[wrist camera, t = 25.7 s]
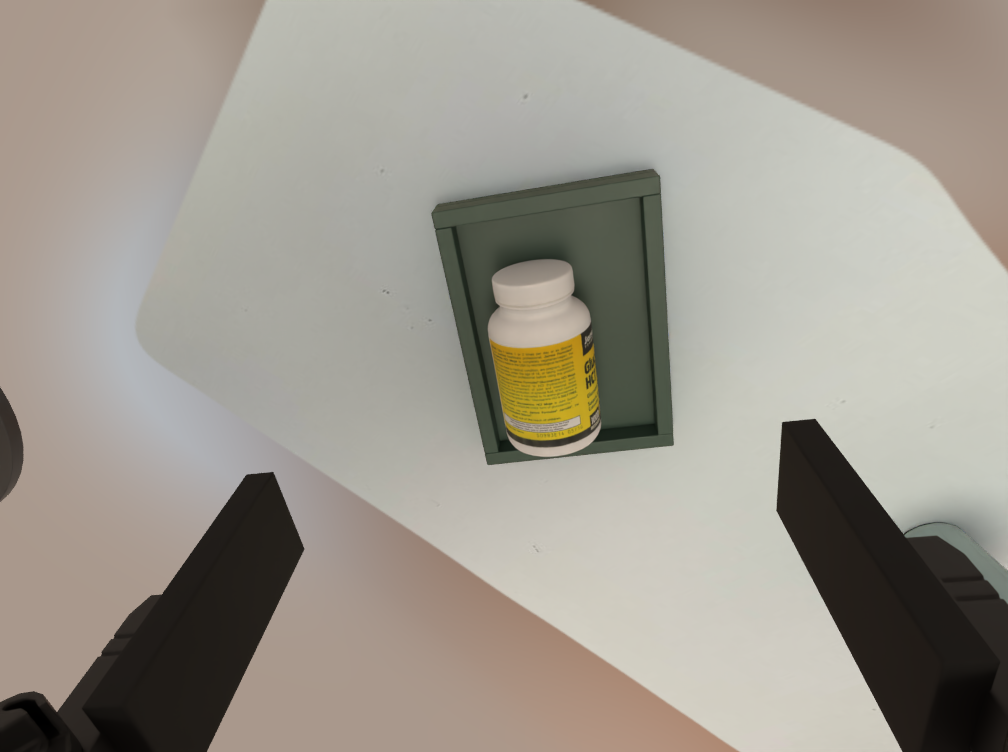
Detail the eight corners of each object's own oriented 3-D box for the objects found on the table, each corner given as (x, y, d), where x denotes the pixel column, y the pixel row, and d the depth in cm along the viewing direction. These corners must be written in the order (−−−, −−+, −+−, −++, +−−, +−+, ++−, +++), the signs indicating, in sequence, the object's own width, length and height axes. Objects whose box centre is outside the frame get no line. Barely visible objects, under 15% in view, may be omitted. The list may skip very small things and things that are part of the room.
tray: (437, 204, 37) (430, 212, 35) (653, 168, 35) (660, 175, 33) (490, 447, 45) (487, 465, 43) (667, 427, 43) (673, 445, 41)
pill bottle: (614, 449, 37) (598, 277, 32) (515, 469, 37) (483, 300, 32) (589, 400, 42) (572, 247, 37) (502, 418, 42) (473, 266, 37)
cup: (995, 507, 45) (1111, 624, 36) (971, 582, 48) (1070, 706, 39) (886, 513, 46) (972, 628, 36) (870, 586, 49) (944, 708, 40)
